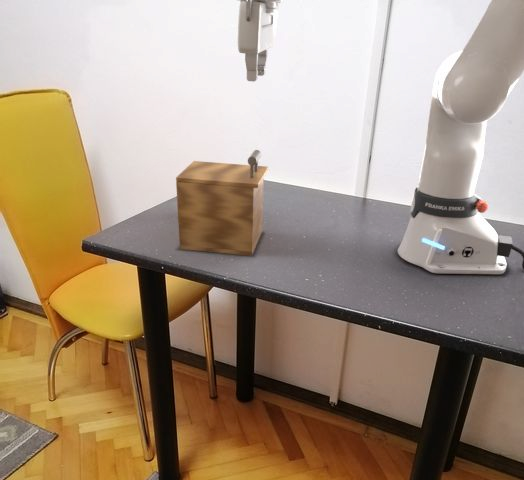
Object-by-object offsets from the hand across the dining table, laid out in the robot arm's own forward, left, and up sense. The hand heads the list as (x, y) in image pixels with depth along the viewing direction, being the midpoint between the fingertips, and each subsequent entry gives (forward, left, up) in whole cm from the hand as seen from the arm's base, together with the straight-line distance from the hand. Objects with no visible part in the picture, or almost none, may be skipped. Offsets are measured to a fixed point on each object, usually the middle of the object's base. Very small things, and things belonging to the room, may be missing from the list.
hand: (256, 78), depth 100 cm
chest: (+7, 0, -33) cm, 34 cm away
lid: (+6, 0, -19) cm, 20 cm away
